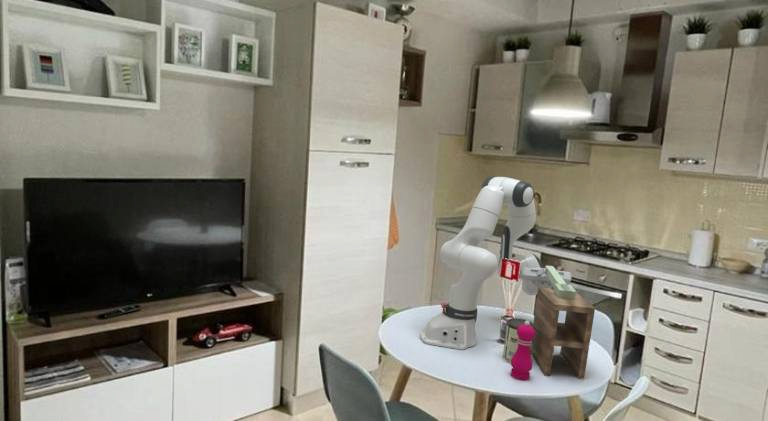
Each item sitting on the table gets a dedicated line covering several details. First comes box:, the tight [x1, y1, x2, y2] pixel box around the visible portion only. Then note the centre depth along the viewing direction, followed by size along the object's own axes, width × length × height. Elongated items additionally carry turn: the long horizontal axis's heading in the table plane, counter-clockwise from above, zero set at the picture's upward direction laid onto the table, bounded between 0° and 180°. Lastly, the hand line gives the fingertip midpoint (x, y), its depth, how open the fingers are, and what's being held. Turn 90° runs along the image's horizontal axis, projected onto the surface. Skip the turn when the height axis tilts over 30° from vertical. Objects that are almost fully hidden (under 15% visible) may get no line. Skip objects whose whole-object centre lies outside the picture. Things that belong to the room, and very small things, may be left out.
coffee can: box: [502, 318, 535, 364], centre depth 191 cm, size 10×10×14 cm
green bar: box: [544, 265, 577, 299], centre depth 196 cm, size 6×24×3 cm, turn 179°
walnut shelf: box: [531, 287, 596, 380], centre depth 188 cm, size 14×20×26 cm
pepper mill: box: [510, 320, 535, 381], centre depth 177 cm, size 7×7×20 cm
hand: (551, 270), depth 204 cm, fingers closed on green bar, 3 cm apart
